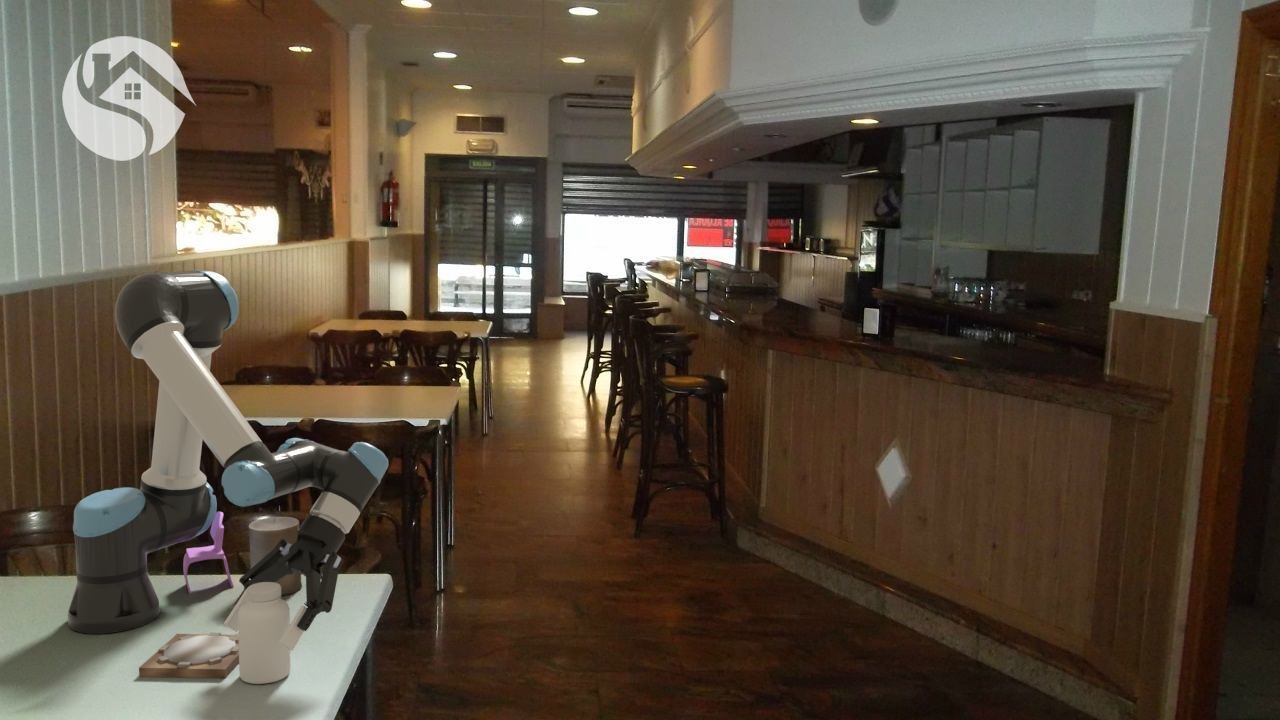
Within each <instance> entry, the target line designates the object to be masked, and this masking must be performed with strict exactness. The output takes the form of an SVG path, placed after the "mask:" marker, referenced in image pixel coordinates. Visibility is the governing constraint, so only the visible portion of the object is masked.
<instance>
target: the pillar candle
mask: <svg viewBox="0 0 1280 720" xmlns="http://www.w3.org/2000/svg"><path fill="white" fill-rule="evenodd" d="M299 528H300V520H298V518H295V517H292V516H272V517H265V518H261V519H257V520H255V521H252V522H251V523H250V524H248V537H249V538H248V541H249V561H250V562H249V563H250V569H251V568H252V567H254V566H255V565H256V564H257V563H258V562H259V561H260V560H262V559H263V558H264V557H265V556H266V555H267V554H269V553H270V552H271V551H272V550H273V549H274V548H275V546H276V545H277V544H278V542H279V541H280V540H281V539H284V540H285V541H287V542H288V543H289V544H291V545H292V544H294V543H295V542H296V540H297V538H298V536H297V531H298V529H299ZM287 564H288V562H287ZM275 583H278V584H280V586H281V597H283V596H286V595H290V594H294V593H296V592H298V591H300V590H301V589H302V588H303V583H302V574H296V573H293V574H290V575H289V574H288V575H286V576H284V577H282V578H281V579H279V580H278V581H276V582H275Z"/></svg>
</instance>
